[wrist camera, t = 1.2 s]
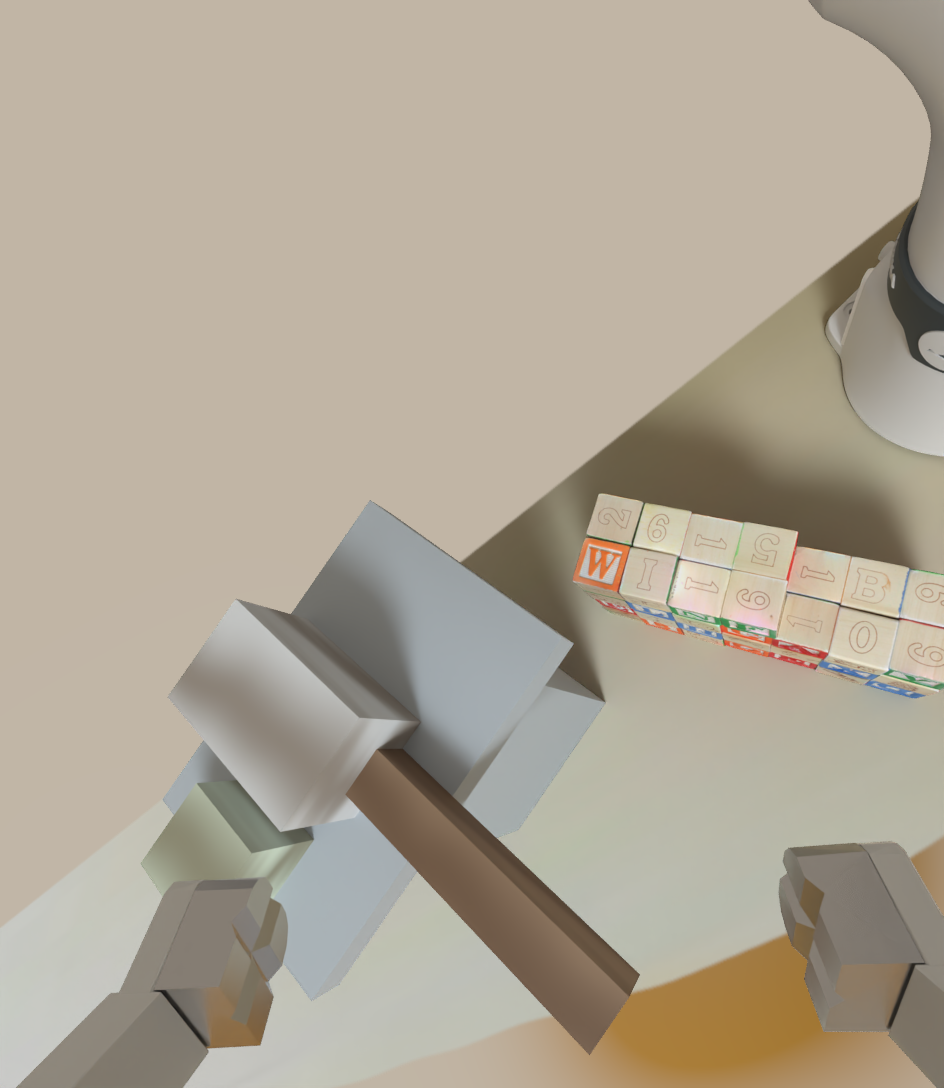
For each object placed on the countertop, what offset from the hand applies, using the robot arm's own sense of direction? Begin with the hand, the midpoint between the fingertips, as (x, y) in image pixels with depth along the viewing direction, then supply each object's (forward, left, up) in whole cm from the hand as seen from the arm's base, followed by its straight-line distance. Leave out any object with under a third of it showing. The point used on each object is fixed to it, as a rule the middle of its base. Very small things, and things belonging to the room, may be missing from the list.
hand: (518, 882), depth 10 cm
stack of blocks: (-12, -3, -41) cm, 43 cm away
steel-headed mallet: (+6, -7, -15) cm, 18 cm away
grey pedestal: (+6, -12, -41) cm, 43 cm away
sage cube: (+12, -12, -15) cm, 23 cm away
